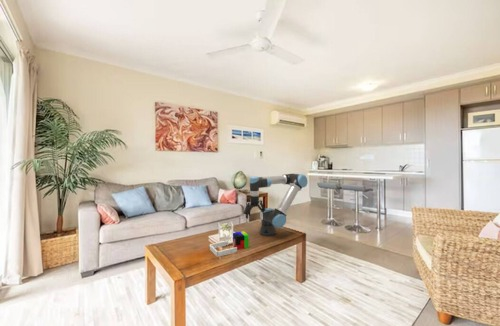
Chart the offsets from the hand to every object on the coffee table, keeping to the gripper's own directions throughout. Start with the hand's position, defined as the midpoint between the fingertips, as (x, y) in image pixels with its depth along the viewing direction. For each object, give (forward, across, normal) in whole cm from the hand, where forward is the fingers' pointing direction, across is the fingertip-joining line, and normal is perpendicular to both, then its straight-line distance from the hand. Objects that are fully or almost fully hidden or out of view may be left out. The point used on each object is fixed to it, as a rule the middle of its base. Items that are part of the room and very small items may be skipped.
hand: (254, 220), depth 181 cm
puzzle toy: (+19, +14, 0) cm, 23 cm away
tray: (+18, +29, 0) cm, 34 cm away
